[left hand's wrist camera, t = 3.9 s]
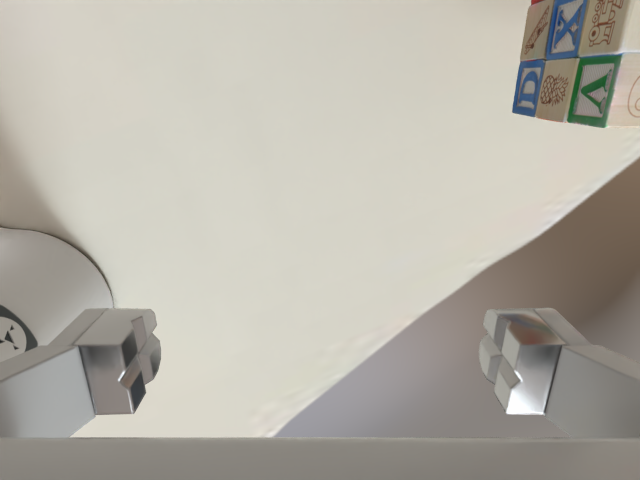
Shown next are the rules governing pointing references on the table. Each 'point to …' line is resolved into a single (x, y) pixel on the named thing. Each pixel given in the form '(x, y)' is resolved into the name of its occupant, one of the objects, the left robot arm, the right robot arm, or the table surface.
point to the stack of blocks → (581, 63)
